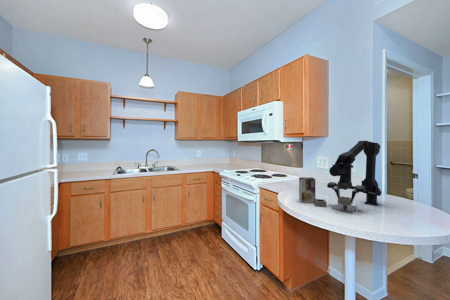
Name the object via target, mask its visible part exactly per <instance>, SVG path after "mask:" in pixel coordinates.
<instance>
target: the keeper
mask: <svg viewBox="0 0 450 300" xmlns="http://www.w3.org/2000/svg"><path fill="white" fill-rule="evenodd" d="M343 199H347V198H343ZM357 209H358V206H357V205H353V204H351V205H345V204H339V203H338V202H337V204H336V205H334V206H333V208H332V210H334V211H335V210H336V211H340V212H343V213H350V214H353V213H354V212H355V211H356V210H357Z"/></svg>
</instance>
